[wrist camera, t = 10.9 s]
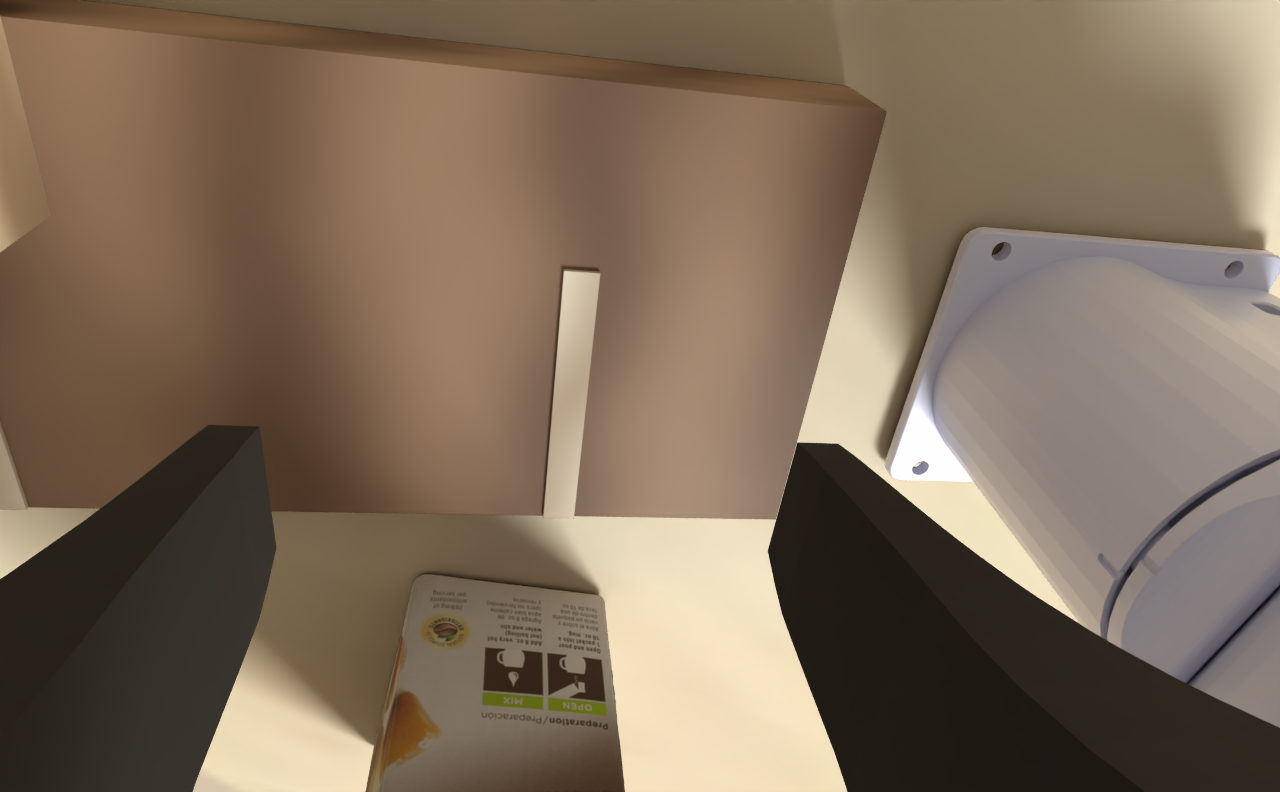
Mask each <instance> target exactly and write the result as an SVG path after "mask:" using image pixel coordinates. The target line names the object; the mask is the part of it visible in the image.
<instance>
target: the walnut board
mask: <svg viewBox="0 0 1280 792" xmlns="http://www.w3.org/2000/svg"><path fill="white" fill-rule="evenodd" d="M0 16H1V20H2V24H3V28H4V32H5V36H6V40H7V44H8V48H9V52H10V56H11V60H12V64H13V68H14V72H15V76H16V80H17V83H18V87H19V91H20V95H21V99H22V103H23V107H24V111H25V115H26V119H27V123H28V127H29V131H30V135H31V139H32V143H33V147H34V151H35V155H36V159H37V162H38V166H39V170H40V174H41V178H42V182H43V186H44V190H45V194H46V198H47V202H48V206H49V210H50V214H51V216H50V217H48V218H47V219H46V220H44V221H43V222H41V223H40V224H39V225H37V226H36V227H35V228H33V229H32V230H30V231H29V232H28V233H26V234H25V235H23V236H22V237H21V238H19V239H18V240H17V241H15V242H14V243H12V244H11V245H10V246H8V247H7V248H6V249H4V250H3V251H1V252H0V509H3V510H27V508H28V507H49V508H102V507H103V506H105V505H106V504H107V503H109V502H110V501H111V500H112V499H114V498H115V497H116V496H118V495H119V494H120V493H122V492H123V491H124V490H125V489H127V488H128V487H129V486H131V485H132V484H133V483H135V482H136V481H137V480H139V479H140V478H141V477H142V476H144V475H145V474H146V473H147V472H149V471H150V470H151V469H152V468H154V467H155V466H156V465H157V464H159V463H160V462H161V461H162V460H164V459H165V458H166V457H167V456H169V455H170V454H171V453H173V452H174V451H175V450H176V449H178V448H179V447H180V446H181V445H183V444H184V443H185V442H186V441H188V440H189V439H190V438H191V437H193V436H194V435H195V434H197V433H198V432H199V431H201V430H202V429H203V428H205V427H206V426H208V425H231V426H260V433H261V440H262V447H263V455H264V462H265V469H266V477H267V484H268V491H269V499H270V506H271V511H295V512H356V513H417V514H479V515H540V516H543V518H573V519H574V516H602V517H663V518H724V519H776V517H777V513H778V509H779V506H780V502H781V498H782V495H783V491H784V487H785V484H786V480H787V476H788V472H789V469H790V465H791V461H792V458H793V454H794V450H795V447H796V443H797V439H798V436H799V432H800V428H801V425H802V421H803V417H804V414H805V410H806V406H807V403H808V399H809V395H810V392H811V388H812V384H813V381H814V377H815V373H816V370H817V366H818V362H819V359H820V355H821V351H822V348H823V344H824V340H825V337H826V333H827V329H828V326H829V322H830V318H831V315H832V311H833V307H834V304H835V300H836V296H837V293H838V289H839V285H840V282H841V278H842V274H843V271H844V267H845V263H846V260H847V256H848V252H849V248H850V245H851V241H852V237H853V234H854V230H855V226H856V223H857V219H858V215H859V212H860V208H861V204H862V201H863V197H864V193H865V190H866V186H867V182H868V179H869V175H870V171H871V168H872V164H873V160H874V157H875V153H876V149H877V146H878V142H879V138H880V135H881V131H882V127H883V124H884V120H885V116H886V113H887V111H885V110H884V109H882V108H881V107H879V106H877V105H876V104H874V103H873V102H871V101H870V100H868V99H867V98H865V97H863V96H862V95H860V94H859V93H857V92H856V91H854V90H852V89H851V88H849V87H848V86H844V85H835V84H826V83H817V82H808V81H799V80H790V79H781V78H773V77H764V76H755V75H746V74H737V73H728V72H719V71H710V70H701V69H692V68H683V67H674V66H665V65H656V64H647V63H639V62H630V61H621V60H612V59H603V58H594V57H585V56H576V55H567V54H558V53H549V52H540V51H531V50H522V49H513V48H504V47H496V46H487V45H478V44H469V43H460V42H451V41H442V40H433V39H424V38H415V37H406V36H397V35H388V34H379V33H370V32H362V31H353V30H344V29H335V28H326V27H317V26H308V25H299V24H290V23H281V22H272V21H263V20H254V19H245V18H236V17H227V16H219V15H210V14H201V13H192V12H183V11H174V10H165V9H156V8H147V7H138V6H129V5H120V4H111V3H102V2H93V1H85V0H0Z"/></svg>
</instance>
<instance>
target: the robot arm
mask: <svg viewBox="0 0 1280 792" xmlns="http://www.w3.org/2000/svg"><path fill="white" fill-rule="evenodd" d="M1001 242H1004V246H1003V248H1002V250H1001V251H1000V252H999V253H997V254H995V255H992V250H993V249H994V247H995V246H996V245H997V244H999V243H1001ZM1232 262H1233V263H1232ZM1231 263H1232V265H1231V267H1230V268H1229V269H1228V270H1226V271H1225V269H1226V268H1227V267H1228V265H1229V264H1231ZM1279 272H1280V258H1279V256H1277V255H1275V254H1273V253H1271V252H1268V251H1265V250H1255V249H1243V248H1231V247H1219V246H1207V245H1195V244H1183V243H1171V242H1159V241H1147V240H1135V239H1123V238H1111V237H1099V236H1087V235H1075V234H1063V233H1051V232H1039V231H1027V230H1015V229H1003V228H991V227H979V228H975V229H973V230H971V231H970V232H968V233H967V234H966V235H965V236H964V238H963V239H962V241H961V243H960V246H959V248H958V251H957V254H956V257H955V260H954V263H953V266H952V269H951V272H950V275H949V277H948V280H947V283H946V286H945V289H944V292H943V295H942V298H941V301H940V304H939V306H938V309H937V312H936V315H935V318H934V321H933V324H932V327H931V330H930V333H929V335H928V338H927V341H926V344H925V347H924V350H923V353H922V356H921V359H920V362H919V365H918V367H917V370H916V373H915V376H914V379H913V382H912V385H911V388H910V391H909V394H908V396H907V399H906V402H905V405H904V408H903V411H902V414H901V417H900V420H899V423H898V425H897V428H896V431H895V434H894V437H893V440H892V443H891V446H890V449H889V452H888V454H887V457H886V460H885V467H886V469H887V471H888V473H889V474H890V476H891V477H893V478H894V479H898V480H924V481H963V482H974V483H975V484H976V486H977V487H978V488H979V490H980V491H981V492H982V494H983V495H984V496H985V498H986V499H987V500H988V502H989V503H990V504H991V506H992V507H993V508H994V510H995V511H996V512H997V514H998V515H999V516H1000V518H1001V519H1002V520H1003V522H1004V523H1005V524H1006V526H1007V527H1008V528H1009V530H1010V531H1011V532H1012V534H1013V535H1014V536H1015V538H1016V539H1017V540H1018V542H1019V543H1020V544H1021V546H1022V547H1023V548H1024V550H1025V551H1026V552H1027V554H1028V555H1029V556H1030V558H1031V559H1032V560H1033V562H1034V563H1035V564H1036V566H1037V567H1038V568H1039V570H1040V571H1041V572H1042V574H1043V575H1044V576H1045V578H1046V579H1047V580H1048V582H1049V583H1050V584H1051V586H1052V587H1053V588H1054V590H1055V591H1056V592H1057V594H1058V595H1059V596H1060V598H1061V599H1062V600H1063V602H1064V603H1065V604H1066V606H1067V607H1068V608H1069V610H1070V611H1071V612H1072V614H1073V615H1074V616H1075V618H1076V619H1077V620H1078V622H1079V623H1080V624H1081V625H1080V624H1079V623H1077V622H1076V621H1074V620H1073V619H1071V618H1069V617H1068V616H1066V615H1065V614H1063V613H1061V612H1060V611H1058V610H1057V609H1055V608H1053V607H1052V606H1050V605H1049V604H1047V603H1046V602H1044V601H1042V600H1041V599H1039V598H1038V597H1036V596H1035V595H1033V594H1032V593H1030V592H1029V591H1027V590H1026V589H1024V588H1023V587H1021V586H1020V585H1019V584H1017V583H1016V582H1014V581H1013V580H1012V579H1010V578H1009V577H1007V576H1006V575H1005V574H1003V573H1002V572H1000V571H999V570H998V569H996V568H995V567H994V566H992V565H991V564H989V563H988V562H987V561H985V560H984V559H983V558H981V557H980V556H978V555H977V554H976V553H974V552H973V551H972V550H970V549H969V548H968V547H967V546H965V545H964V544H963V543H961V542H960V541H959V540H957V539H956V538H955V537H954V536H952V535H951V534H950V533H949V532H947V531H946V530H945V529H943V528H942V527H941V526H940V525H938V524H937V523H936V522H935V521H933V520H932V519H931V518H930V517H928V516H927V515H926V514H925V513H924V512H922V511H921V510H920V509H919V508H917V507H916V506H915V505H914V504H913V503H911V502H910V501H909V500H908V499H906V498H905V497H904V496H903V495H902V494H900V493H899V492H898V491H897V490H896V489H894V488H893V487H892V486H891V485H890V484H888V483H887V482H886V481H885V480H884V479H882V478H881V477H880V476H879V475H878V474H876V473H875V472H874V471H873V470H871V469H870V468H869V467H868V466H866V465H865V464H864V463H863V462H862V461H860V460H859V459H858V458H856V457H855V456H854V455H853V454H851V453H850V452H849V451H847V450H846V449H844V448H843V447H842V446H840V445H839V444H826V443H797V446H796V450H795V454H794V457H793V461H792V465H791V468H790V472H789V476H788V479H787V483H786V486H785V490H784V494H783V497H782V501H781V505H780V508H779V512H778V516H777V519H776V523H775V527H774V530H773V534H772V538H771V541H770V545H769V549H768V554H769V559H770V563H771V568H772V573H773V577H774V582H775V587H776V591H777V595H778V599H779V603H780V607H781V611H782V615H783V617H784V620H785V623H786V626H787V629H788V631H789V634H790V637H791V639H792V642H793V645H794V647H795V650H796V653H797V656H798V658H799V661H800V664H801V666H802V669H803V671H804V674H805V677H806V679H807V682H808V684H809V687H810V690H811V692H812V695H813V697H814V700H815V703H816V705H817V708H818V711H819V713H820V716H821V718H822V721H823V724H824V726H825V729H826V731H827V734H828V737H829V739H830V742H831V745H832V747H833V750H834V752H835V755H836V758H837V761H838V764H839V767H840V770H841V773H842V776H843V779H844V782H845V785H846V788H847V792H1280V299H1279V298H1277V297H1275V296H1274V295H1272V294H1270V293H1268V292H1269V290H1270V289H1271V287H1272V285H1273V283H1274V282H1275V280H1276V278H1277V276H1278V275H1279ZM920 461H923V462H922V463H921V464H920V465H919V466H917V467H913V466H914V465H915V464H916V463H918V462H920ZM275 551H276V543H275V535H274V528H273V521H272V513H271V506H270V499H269V491H268V484H267V477H266V469H265V462H264V455H263V447H262V440H261V433H260V426H231V425H208V426H206V427H205V428H203V429H202V430H201V431H199V432H198V433H197V434H195V435H194V436H193V437H191V438H190V439H189V440H188V441H186V442H185V443H184V444H183V445H181V446H180V447H179V448H178V449H176V450H175V451H174V452H173V453H171V454H170V455H169V456H167V457H166V458H165V459H164V460H162V461H161V462H160V463H159V464H157V465H156V466H155V467H154V468H152V469H151V470H150V471H149V472H147V473H146V474H145V475H144V476H142V477H141V478H140V479H139V480H137V481H136V482H135V483H133V484H132V485H131V486H129V487H128V488H127V489H125V490H124V491H123V492H122V493H120V494H119V495H118V496H116V497H115V498H114V499H112V500H111V501H110V502H109V503H107V504H106V505H105V506H103V507H102V508H101V509H99V510H98V511H97V512H95V513H94V514H93V515H92V516H90V517H89V518H88V519H86V520H85V521H84V522H82V523H81V524H79V525H78V526H76V527H75V528H74V529H72V530H71V531H69V532H68V533H66V534H65V535H63V536H62V537H61V538H59V539H58V540H56V541H55V542H53V543H52V544H51V545H49V546H48V547H46V548H45V549H43V550H42V551H41V552H39V553H38V554H36V555H35V556H33V557H32V558H30V559H29V560H28V561H26V562H25V563H23V564H22V565H20V566H19V567H18V568H16V569H15V570H13V571H12V572H10V573H9V574H8V575H6V576H4V577H3V578H1V579H0V792H193V789H194V786H195V783H196V780H197V777H198V775H199V772H200V770H201V767H202V764H203V762H204V759H205V757H206V754H207V752H208V749H209V747H210V744H211V742H212V739H213V736H214V734H215V731H216V729H217V726H218V724H219V721H220V719H221V716H222V713H223V711H224V708H225V706H226V703H227V701H228V698H229V696H230V693H231V691H232V688H233V685H234V683H235V680H236V678H237V675H238V673H239V670H240V668H241V665H242V662H243V660H244V657H245V654H246V652H247V649H248V647H249V644H250V641H251V639H252V636H253V634H254V631H255V628H256V626H257V623H258V620H259V617H260V614H261V610H262V606H263V602H264V598H265V594H266V590H267V586H268V582H269V577H270V573H271V568H272V564H273V560H274V555H275Z"/></svg>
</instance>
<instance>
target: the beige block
mask: <svg viewBox="0 0 1280 792" xmlns="http://www.w3.org/2000/svg"><path fill="white" fill-rule="evenodd" d="M50 216H51V214H50V210H49V206H48V202H47V198H46V194H45V190H44V186H43V182H42V178H41V174H40V170H39V166H38V162H37V159H36V155H35V151H34V147H33V143H32V139H31V135H30V131H29V127H28V123H27V119H26V115H25V111H24V107H23V103H22V99H21V95H20V91H19V87H18V83H17V80H16V76H15V72H14V68H13V64H12V60H11V56H10V52H9V48H8V44H7V40H6V36H5V32H4V28H3V24H2V20H1V16H0V252H1V251H3V250H4V249H6V248H7V247H8V246H10V245H11V244H12V243H14V242H15V241H17V240H18V239H19V238H21V237H22V236H23V235H25V234H26V233H28V232H29V231H30V230H32V229H33V228H35V227H36V226H37V225H39V224H40V223H41V222H43V221H44V220H46V219H47V218H48V217H50Z"/></svg>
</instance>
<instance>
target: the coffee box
mask: <svg viewBox="0 0 1280 792" xmlns="http://www.w3.org/2000/svg"><path fill="white" fill-rule="evenodd" d="M366 792H625V789H624V779H623V769H622V759H621V750H620V740H619V734H618V726H617V714H616V702H615V692H614V686H613V674H612V668H611V658H610V650H609V642H608V633H607V623H606V612H605V603H604V599H603V598H602V597H601V596H598V595H593V594H584V593H576V592H568V591H561V590H553V589H545V588H537V587H528V586H520V585H512V584H503V583H495V582H487V581H479V580H471V579H464V578H456V577H448V576H441V575H432V574H426V575H421V576H419V577H418V578H417V579H415V581H414V583H413V586H412V591H411V595H410V599H409V603H408V607H407V612H406V616H405V620H404V624H403V629H402V633H401V637H400V641H399V646H398V650H397V654H396V658H395V662H394V666H393V670H392V674H391V678H390V682H389V686H388V690H387V695H386V699H385V703H384V707H383V711H382V715H381V719H380V724H379V728H378V732H377V736H376V740H375V744H374V749H373V755H372V760H371V765H370V771H369V777H368V782H367V788H366Z"/></svg>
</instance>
